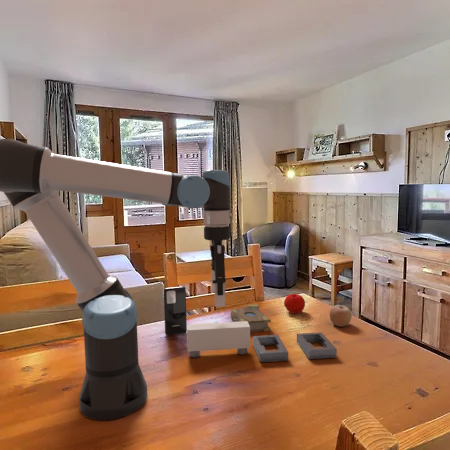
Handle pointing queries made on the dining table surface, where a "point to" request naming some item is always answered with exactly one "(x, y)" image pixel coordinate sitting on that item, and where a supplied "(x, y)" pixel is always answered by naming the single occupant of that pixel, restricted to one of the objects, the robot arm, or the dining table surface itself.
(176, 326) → the smartphone
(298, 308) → the apple
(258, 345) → the keyhole plates
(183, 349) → the dining table surface
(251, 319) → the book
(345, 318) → the fruit
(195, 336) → the bar
